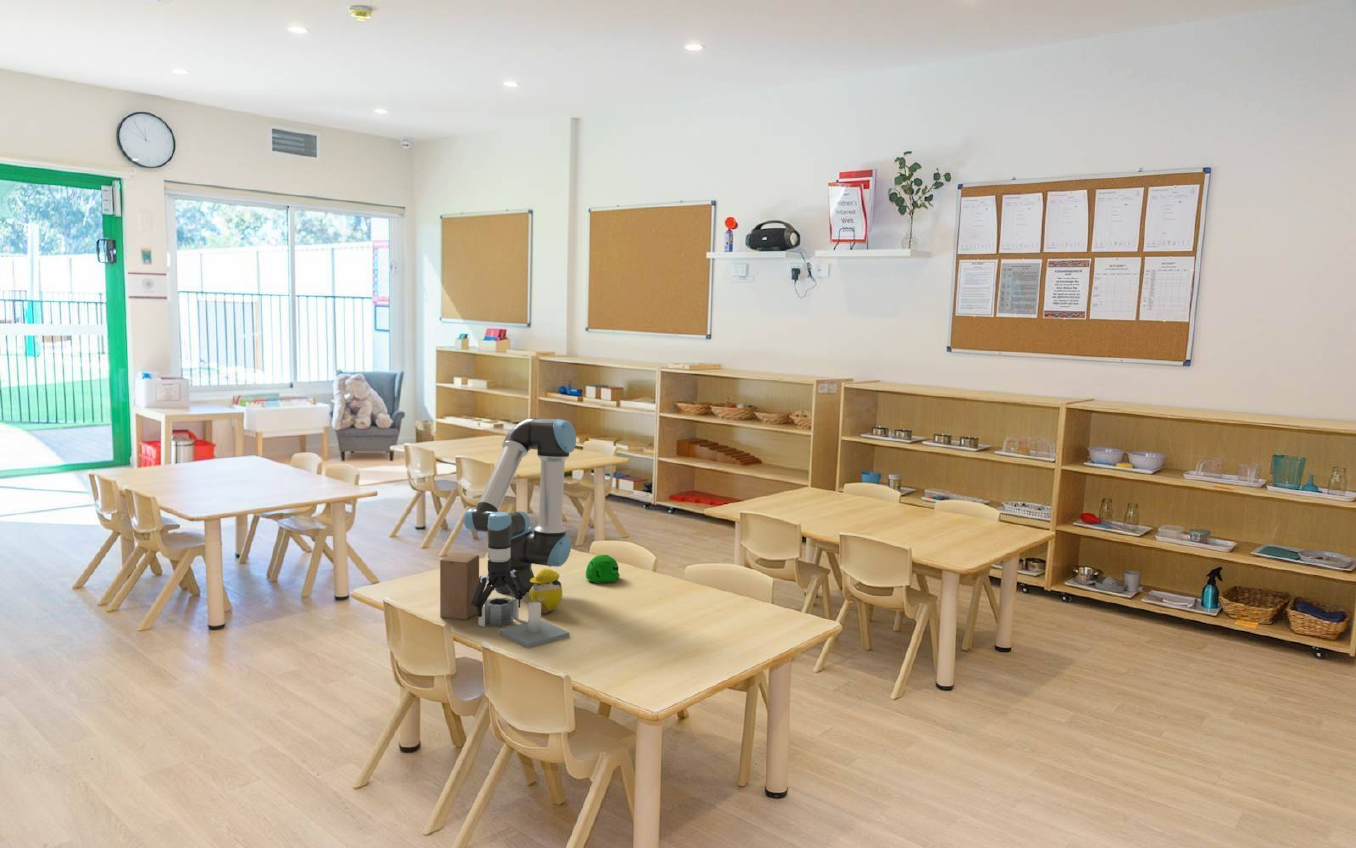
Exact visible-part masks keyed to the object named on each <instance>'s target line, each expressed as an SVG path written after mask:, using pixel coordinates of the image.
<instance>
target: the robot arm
mask: <svg viewBox="0 0 1356 848" xmlns="http://www.w3.org/2000/svg"><path fill="white" fill-rule="evenodd" d="M576 433H577V432H576V430H575V428H574V426H573V424H572V423H571V421H569V420H565V419H564V420H563V419H560V418H555V419H554V418H543V417H542V418H541V417H539V418H538V417H529V418H526V419H523V420H522V421H520V422H518V423H517V424H516V425H515V426H514V427H513V428H512V429H511V430H510V431H509V432H508V433H507V435H506V437H505V438H504V440H503V442H502V445H501V447H502V451H501V453H500V455H499V458H498V459H497V462H496V464H495V467H494V468H493V470H492V472H491V475H490V477H489V479H488V482H487V483H486V486H485V487H484V489H483V492H482V494H481V496H480V498H479V501H478V502H477V505H476V507H475V508H474V507H473V508H468V509H467V510H466V511H465V513H464V516H463V525H464V527H465V528H466V529H467V530H469V531H470V530H471V531H475V532H477V533H479V532H483V533H487V559H488V560H487V575H486V576H482V575H479V584H478V587H477V589H476V592H475V594H474V597H473V599H472V602H471V605H473V606H475V607H477V613H476V617H477V618H478V624H477V625H478V626H480V627H482V628H484V627H486V624H485V602H486V600H488V599H489V597H490V596H491V594H492V592H493V591H496V592H498V593H502V594H506V595H507V594H508V595H513V597H512V599H511V600H513V619H519V615H520V614H519V609H520V608H521V600H523V597H525V596H526V595H527V593H528V594H529V591H530V589H531V588H532V586H533V585H534V584H535V583H532V582H530V580H531V578H534V577H535V575H534V574H535V573H534V572H533V569H532V565H539V566H547V567H549V568H550V567H551V568H552V567H556V568H559V567H562V566H563V565H564V564H566V562H567V560H568V558H569V556H570V553H571V549H572V541H571V537H570V536H568V535H566V533H567V530H566V528H565V527H564V526H563V511H564V510H563V509H564V486H565V485H564V483H565V467H566V466H565V461H567V459H568V458H570V453H572V452H574V451H575V449H576V447H575V446H576V444H577V435H576ZM531 450H536V451H537V457H538V459H540V481H539V482H540V484H539V500H538V501H539V504H538V506H539V507H538V522H537V523H538V524H537V526H535V527H534V529H532V527H531V519H530V516H529V514H527V513H526V512H524V511H521V510H519V511H518V510H517V511H514V512H506V511H499V510H500V507H501V506H502V503H503V501H504V499H505V497H506V494H508V493H507V492H508V490H509V489H510V486H511V484H512V481H513V479H514V477H515V475H516V473H517V470H518V468H519V466H520V463H521V461H522V459H523V458H525V457H526V456H527V455H528V453H529V451H531Z"/></svg>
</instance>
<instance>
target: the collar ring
mask: <svg viewBox="0 0 1356 848" xmlns="http://www.w3.org/2000/svg"><path fill="white" fill-rule="evenodd" d="M484 607H485V625H487V626H489V627H500V628H501V627H505V626H510V625H512V623H513V621H514V617H513V600H512V599H510V598H508V597H492V598H488V599H487V600H486V602H485V604H484Z"/></svg>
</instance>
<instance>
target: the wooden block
mask: <svg viewBox="0 0 1356 848" xmlns="http://www.w3.org/2000/svg"><path fill="white" fill-rule="evenodd" d="M439 565H440V566H439V568H440V569H439V571H440V572H439V573H440V574H439V578H440V579H439V582H440V583H439V584H440V585H439V586H440V587H439V588H440V589H439V593H440V595H439V597H440V598H439V601H440V602H439V603H440V604H439V605H440V606H439V608H440V609H439V612H440V613H439V616H440V618H446V619H447V618H448V619H457V620H465V621H466V620H468V619H470V618H472V616H474V615H476V614H477V607H475V606H473V605H471V602H472V599H473V597H474V594H475V592H476V589H477V587H478V584H479V577H480V555H479V554H469V553H459V552H452V553H450V554H448V555H447V556H445V557H443V558H441V559H440V562H439Z"/></svg>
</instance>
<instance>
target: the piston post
mask: <svg viewBox="0 0 1356 848" xmlns="http://www.w3.org/2000/svg"><path fill="white" fill-rule="evenodd" d="M527 613H528V617H527V618H528V622H526V623H521V624H517V625H513V626H509V627H505V628H501V629H499V635H500V636H502V637H504V638H506V639H508V640H510V641H512V642H514V643H517V644H518V645H521V646H522V647H524V648H527V649H530V648H534V647H538V646H541V645H544V644H548V643H552V642H557V641H559V640H564V639H568V638H570V634H571V633H570V632H569V631H567V630H566V629H564V628H560V627H558V626H556V625H554V624H552V623H550V622H548V621H545V620H543V619H542V612H541V603H539V602H531V603H529V602H528V612H527Z"/></svg>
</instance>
